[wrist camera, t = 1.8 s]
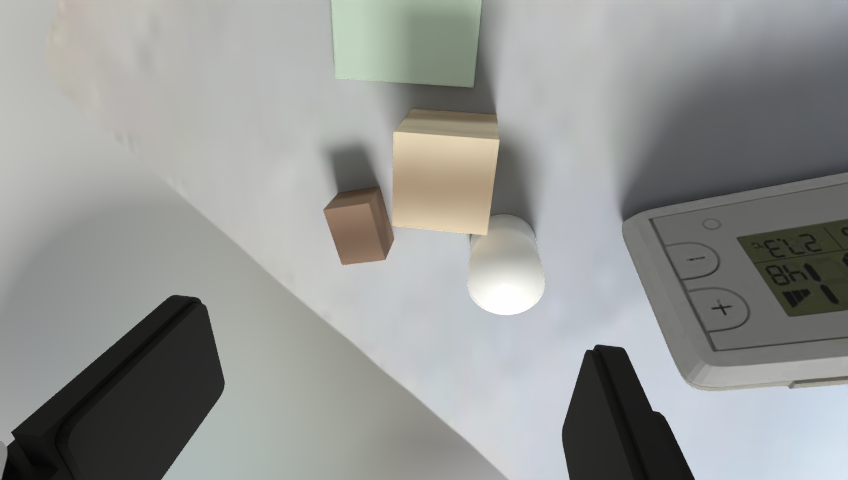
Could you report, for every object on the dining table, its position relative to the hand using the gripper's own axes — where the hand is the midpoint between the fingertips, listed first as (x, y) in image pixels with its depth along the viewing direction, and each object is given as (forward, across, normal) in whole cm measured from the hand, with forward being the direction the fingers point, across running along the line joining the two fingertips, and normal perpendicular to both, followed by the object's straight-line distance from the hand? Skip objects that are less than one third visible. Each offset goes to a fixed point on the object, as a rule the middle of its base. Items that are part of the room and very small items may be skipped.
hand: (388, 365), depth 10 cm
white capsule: (+18, -4, +5) cm, 19 cm away
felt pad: (+18, +3, -9) cm, 20 cm away
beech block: (+18, 0, -1) cm, 18 cm away
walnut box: (+18, +5, +4) cm, 19 cm away
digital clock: (+18, -19, +2) cm, 27 cm away
